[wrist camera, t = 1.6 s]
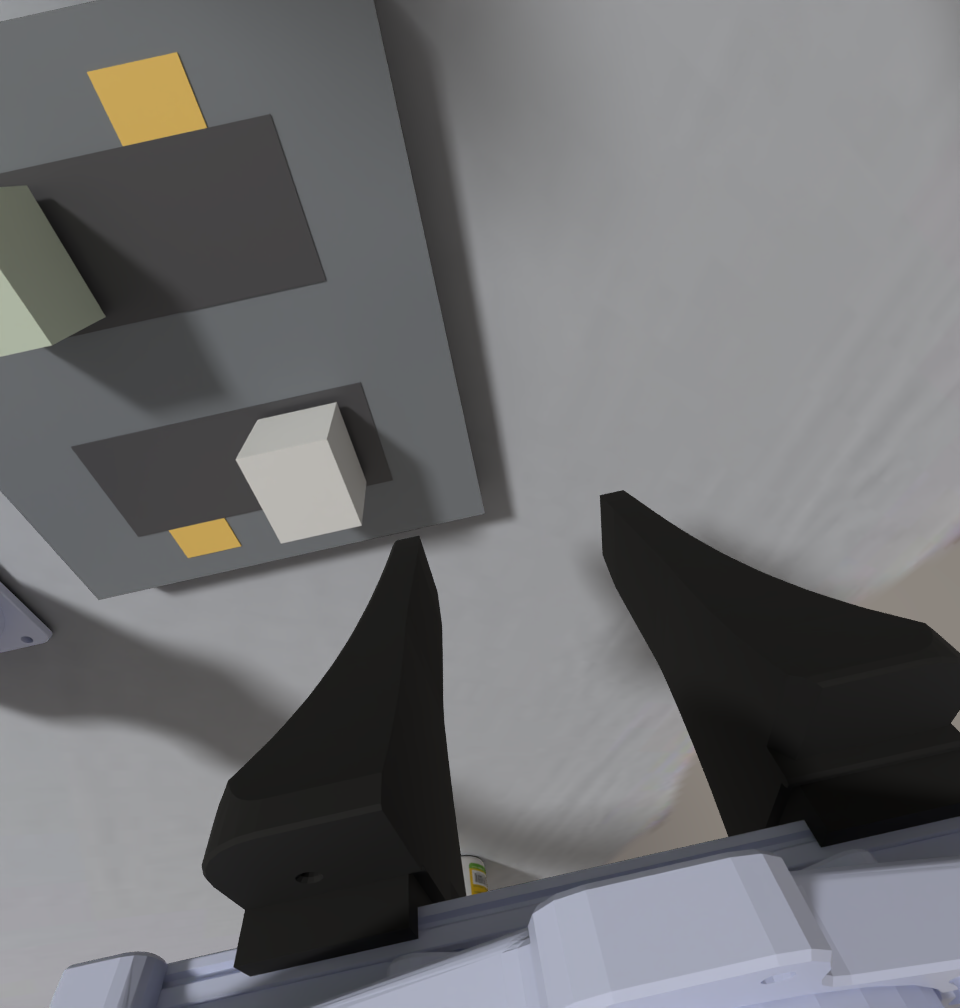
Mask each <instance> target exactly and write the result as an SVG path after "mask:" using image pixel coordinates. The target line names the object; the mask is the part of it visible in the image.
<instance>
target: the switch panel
mask: <svg viewBox="0 0 960 1008" xmlns="http://www.w3.org/2000/svg"><path fill="white" fill-rule="evenodd" d="M24 185H27V186H28V188H29V190H30V191H31V193H32V195H33V196H34V198H35V200H36V201H37V203H38V205H39V206H40V208H41V210H42V211H43V213H44V215H45V216H46V218H47V220H48V221H49V223H50V225H51V226H52V228H53V230H54V231H55V233H56V235H57V236H58V238H59V240H60V241H61V243H62V245H63V246H64V248H65V250H66V251H67V253H68V255H69V256H70V258H71V260H72V261H73V263H74V265H75V266H76V268H77V270H78V271H79V273H80V275H81V276H82V278H83V280H84V281H85V283H86V285H87V286H88V288H89V290H90V291H91V293H92V295H93V296H94V298H95V300H96V301H97V303H98V305H99V306H100V308H101V310H102V311H103V313H104V315H105V316H106V317H105V318H103V319H101V320H99V321H97V322H95V323H93V324H91V325H90V326H88V327H86V328H84V329H82V330H80V331H78V332H76V333H74V334H73V335H71V336H69V337H67V338H65V339H63V340H61V341H59V342H58V343H56V344H54V345H51V346H47V347H42V348H38V349H33V350H29V351H24V352H20V353H15V354H11V355H6V356H2V357H0V491H1V492H2V493H3V494H4V495H5V496H6V497H7V499H8V500H9V501H10V502H11V503H12V504H13V505H14V506H15V507H16V509H17V510H18V511H19V512H20V513H21V514H22V515H23V516H24V517H25V519H26V520H27V521H28V522H29V523H30V524H31V525H32V526H33V527H34V529H35V530H36V531H37V532H38V533H39V534H40V535H41V536H42V537H43V539H44V540H45V541H46V542H47V543H48V544H49V545H50V546H51V547H52V549H53V550H54V551H55V552H56V553H57V554H58V555H59V556H60V557H61V559H62V560H63V561H64V562H65V563H66V564H67V565H68V566H69V567H70V569H71V570H72V571H73V572H74V573H75V574H76V575H77V576H78V577H79V579H80V580H81V581H82V582H83V583H84V584H85V585H86V586H87V587H88V589H89V590H90V591H91V592H92V593H93V594H94V595H95V596H96V597H97V599H98V600H101V599H105V598H110V597H114V596H119V595H123V594H128V593H132V592H137V591H141V590H145V589H150V588H154V587H159V586H163V585H168V584H172V583H177V582H181V581H186V580H190V579H195V578H199V577H204V576H208V575H213V574H217V573H222V572H226V571H231V570H235V569H239V568H244V567H248V566H253V565H257V564H262V563H266V562H271V561H275V560H280V559H284V558H289V557H293V556H298V555H302V554H307V553H311V552H316V551H320V550H325V549H329V548H333V547H338V546H342V545H347V544H351V543H356V542H360V541H365V540H369V539H374V538H378V537H383V536H387V535H392V534H396V533H401V532H405V531H410V530H414V529H419V528H423V527H428V526H432V525H436V524H441V523H445V522H450V521H454V520H459V519H463V518H468V517H472V516H477V515H481V514H485V512H484V507H483V502H482V498H481V493H480V489H479V484H478V479H477V475H476V470H475V466H474V461H473V456H472V452H471V447H470V442H469V438H468V433H467V429H466V424H465V419H464V415H463V410H462V406H461V401H460V396H459V392H458V387H457V382H456V378H455V373H454V369H453V364H452V359H451V355H450V350H449V346H448V341H447V336H446V332H445V327H444V322H443V318H442V313H441V309H440V304H439V299H438V295H437V290H436V286H435V281H434V276H433V272H432V267H431V262H430V258H429V253H428V249H427V244H426V239H425V235H424V230H423V226H422V221H421V216H420V212H419V207H418V202H417V198H416V193H415V189H414V184H413V179H412V175H411V170H410V166H409V161H408V156H407V152H406V147H405V142H404V138H403V133H402V129H401V124H400V119H399V115H398V110H397V106H396V101H395V96H394V92H393V87H392V82H391V78H390V73H389V69H388V64H387V59H386V55H385V50H384V46H383V41H382V36H381V32H380V27H379V22H378V18H377V13H376V9H375V4H374V0H97V1H93V2H88V3H83V4H79V5H74V6H70V7H65V8H61V9H56V10H52V11H47V12H42V13H38V14H33V15H29V16H24V17H20V18H15V19H10V20H6V21H1V22H0V187H10V186H24ZM335 402H337V404H338V407H339V410H340V413H341V415H342V418H343V421H344V423H345V426H346V429H347V431H348V434H349V437H350V439H351V442H352V445H353V447H354V450H355V453H356V455H357V458H358V461H359V463H360V466H361V469H362V471H363V474H364V477H365V479H366V491H365V500H364V510H363V519H362V526H358V527H353V528H349V529H344V530H340V531H335V532H331V533H326V534H322V535H318V536H313V537H309V538H304V539H300V540H295V541H291V542H286V543H282V544H281V543H280V541H279V539H278V537H277V535H276V533H275V532H274V530H273V528H272V526H271V524H270V522H269V520H268V519H267V517H266V515H265V513H264V511H263V509H262V508H261V506H260V504H259V502H258V500H257V498H256V496H255V495H254V493H253V491H252V489H251V487H250V485H249V483H248V482H247V480H246V478H245V476H244V474H243V472H242V471H241V469H240V467H239V465H238V463H237V461H236V458H237V456H238V454H239V452H240V450H241V449H242V447H243V445H244V443H245V441H246V440H247V438H248V436H249V434H250V432H251V431H252V429H253V427H254V425H255V423H256V422H257V420H259V419H263V418H268V417H272V416H277V415H281V414H286V413H290V412H295V411H299V410H304V409H308V408H313V407H317V406H322V405H326V404H331V403H335Z"/></svg>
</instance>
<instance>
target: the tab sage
mask: <svg viewBox="0 0 960 1008" xmlns="http://www.w3.org/2000/svg"><path fill="white" fill-rule="evenodd" d="M105 317H106V316H105V315H104V313H103V311H102V310H101V308H100V306H99V305H98V303H97V301H96V300H95V298H94V296H93V295H92V293H91V291H90V290H89V288H88V286H87V285H86V283H85V281H84V280H83V278H82V276H81V275H80V273H79V271H78V270H77V268H76V266H75V265H74V263H73V261H72V260H71V258H70V256H69V255H68V253H67V251H66V250H65V248H64V246H63V245H62V243H61V241H60V240H59V238H58V236H57V235H56V233H55V231H54V230H53V228H52V226H51V225H50V223H49V221H48V220H47V218H46V216H45V215H44V213H43V211H42V210H41V208H40V206H39V205H38V203H37V201H36V200H35V198H34V196H33V195H32V193H31V191H30V190H29V188H28V186H27V185H24V186H10V187H0V357H2V356H6V355H11V354H15V353H20V352H24V351H29V350H33V349H38V348H42V347H47V346H51V345H54V344H56V343H58V342H59V341H61V340H63V339H65V338H67V337H69V336H71V335H73V334H74V333H76V332H78V331H80V330H82V329H84V328H86V327H88V326H90V325H91V324H93V323H95V322H97V321H99V320H101V319H103V318H105Z"/></svg>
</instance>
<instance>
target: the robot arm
mask: <svg viewBox="0 0 960 1008" xmlns="http://www.w3.org/2000/svg"><path fill="white" fill-rule="evenodd" d="M600 507H601V528H602V550H603V557H604V559H605V562H606V564H607V567H608V570H609V572H610V575H611V577H612V579H613V582H614V584H615V587H616V589H617V591H618V592H619V594H620V596H621V598H622V600H623V601H624V603H625V605H626V607H627V609H628V610H629V612H630V614H631V616H632V618H633V619H634V621H635V623H636V625H637V626H638V628H639V630H640V632H641V634H642V635H643V637H644V639H645V641H646V642H647V644H648V646H649V648H650V650H651V651H652V653H653V655H654V657H655V659H656V661H657V662H658V664H659V666H660V668H661V670H662V672H663V675H664V677H665V679H666V681H667V684H668V686H669V688H670V691H671V693H672V695H673V698H674V700H675V702H676V704H677V707H678V709H679V711H680V714H681V716H682V719H683V721H684V724H685V726H686V728H687V731H688V733H689V736H690V738H691V740H692V743H693V745H694V748H695V750H696V753H697V755H698V758H699V760H700V763H701V766H702V768H703V771H704V773H705V776H706V778H707V781H708V783H709V786H710V788H711V791H712V794H713V796H714V799H715V802H716V804H717V807H718V810H719V813H720V815H721V818H722V820H723V823H724V826H725V829H726V831H727V834H728V837H726V838H722V839H718V840H713V841H708V842H704V843H699V844H695V845H691V846H686V847H682V848H677V849H673V850H669V851H665V852H660V853H655V854H651V855H647V856H642V857H638V858H634V859H629V860H624V861H620V862H616V863H611V864H607V865H602V866H598V867H593V868H589V869H584V870H580V871H576V872H571V873H567V874H562V875H558V876H553V877H549V878H545V879H540V880H536V881H531V882H527V883H523V884H518V885H514V886H509V887H505V888H500V889H496V890H492V891H487V892H483V893H478V894H474V895H469V896H467V895H466V888H465V881H464V874H463V867H462V860H461V853H460V847H459V839H458V831H457V824H456V816H455V809H454V801H453V793H452V785H451V777H450V769H449V760H448V752H447V743H446V734H445V725H444V709H443V649H442V622H441V614H440V607H439V600H438V592H437V589H436V586H435V583H434V580H433V577H432V573H431V570H430V567H429V564H428V561H427V558H426V555H425V552H424V549H423V546H422V543H421V540H420V536H416V537H412V538H407V539H403V540H398V541H396V542H395V543H394V545H393V547H392V550H391V553H390V555H389V558H388V561H387V563H386V566H385V568H384V570H383V573H382V575H381V578H380V580H379V582H378V584H377V586H376V589H375V591H374V593H373V595H372V597H371V599H370V601H369V603H368V605H367V607H366V609H365V611H364V613H363V615H362V617H361V618H360V620H359V622H358V624H357V626H356V628H355V630H354V631H353V633H352V635H351V636H350V638H349V640H348V641H347V643H346V645H345V646H344V648H343V649H342V651H341V652H340V654H339V656H338V657H337V659H336V660H335V662H334V663H333V665H332V666H331V667H330V669H329V670H328V671H327V673H326V674H325V676H324V677H323V678H322V680H321V681H320V682H319V684H318V685H317V686H316V688H315V689H314V690H313V692H312V693H311V694H310V695H309V697H308V698H307V699H306V700H305V702H304V703H303V704H302V705H301V706H300V707H299V709H298V710H297V711H296V712H295V713H294V714H293V716H292V717H291V718H290V719H289V720H288V721H287V722H286V724H285V725H284V726H283V727H282V728H281V729H280V730H279V731H278V732H277V733H276V734H275V735H274V737H273V738H272V739H271V740H270V741H269V742H268V743H267V744H266V745H265V746H264V747H263V748H262V749H261V750H260V751H259V752H258V753H257V754H256V755H254V756H253V757H252V758H251V759H250V760H249V761H248V762H247V763H246V764H245V765H244V766H243V767H242V768H241V769H240V770H239V771H238V772H237V773H236V774H235V775H234V776H233V777H232V778H231V779H229V780H228V783H227V785H226V788H225V791H224V794H223V796H222V799H221V801H220V804H219V807H218V810H217V813H216V816H215V820H214V823H213V827H212V830H211V834H210V838H209V841H208V845H207V848H206V852H205V855H204V859H203V863H202V870H203V875H204V876H205V878H206V879H207V880H208V881H209V882H210V883H211V885H212V886H213V887H214V888H216V889H217V890H219V891H220V892H221V893H223V894H224V895H225V896H227V897H228V898H229V899H231V900H232V901H234V902H235V903H236V904H238V905H239V906H240V907H242V908H243V909H245V913H244V918H243V923H242V928H241V932H240V937H239V942H238V947H237V948H235V949H230V950H226V951H222V952H217V953H213V954H208V955H204V956H199V957H195V958H191V959H186V960H182V961H177V962H173V963H169V964H167V963H166V962H165V960H163V959H162V958H161V957H159V956H157V955H155V954H152V953H149V952H129V953H123V954H118V955H114V956H109V957H105V958H101V959H96V960H92V961H87V962H83V963H78V964H74V965H71V966H69V967H68V968H67V969H65V970H64V972H63V974H62V976H61V979H60V981H59V984H58V986H57V988H56V991H55V993H54V996H53V998H52V1000H51V1003H50V1005H49V1008H960V732H959V731H958V730H957V729H956V728H955V727H954V726H953V725H952V724H951V722H952V720H953V719H954V718H955V716H956V715H957V713H958V712H959V710H960V653H959V652H958V651H957V650H956V649H955V648H954V647H952V646H951V645H950V644H949V643H948V642H947V641H946V640H944V639H943V638H942V637H941V636H940V635H939V634H938V633H936V632H935V631H934V630H933V629H932V628H930V627H929V626H928V625H927V624H925V623H922V622H918V621H914V620H910V619H906V618H902V617H898V616H894V615H890V614H886V613H882V612H878V611H874V610H870V609H866V608H863V607H859V606H856V605H853V604H849V603H846V602H843V601H840V600H836V599H833V598H830V597H827V596H824V595H821V594H818V593H815V592H812V591H809V590H806V589H803V588H801V587H798V586H796V585H793V584H790V583H788V582H785V581H783V580H780V579H777V578H775V577H772V576H770V575H768V574H765V573H763V572H761V571H758V570H756V569H754V568H752V567H750V566H748V565H745V564H743V563H741V562H739V561H737V560H735V559H733V558H731V557H729V556H727V555H725V554H723V553H721V552H719V551H717V550H715V549H714V548H712V547H710V546H708V545H706V544H705V543H703V542H701V541H699V540H698V539H696V538H694V537H693V536H691V535H689V534H688V533H686V532H684V531H683V530H681V529H680V528H678V527H677V526H675V525H673V524H672V523H670V522H669V521H667V520H666V519H664V518H663V517H661V516H660V515H658V514H657V513H655V512H654V511H653V510H651V509H650V508H648V507H647V506H645V505H644V504H642V503H641V502H640V501H638V500H637V499H635V498H634V497H632V496H631V495H630V494H628V493H627V492H625V491H624V490H622V491H617V492H613V493H609V494H604V495H600ZM51 636H52V632H51V630H50V629H49V628H48V627H47V626H46V625H45V624H44V623H43V622H41V621H40V620H39V619H38V618H37V617H36V616H35V615H34V614H33V613H32V612H31V611H30V610H29V609H28V608H27V607H26V606H25V605H24V604H23V603H22V602H21V601H20V600H19V599H18V598H17V597H16V596H15V595H14V594H13V593H11V592H10V591H9V590H8V589H7V588H6V587H5V586H4V585H3V584H2V583H1V582H0V653H2V652H7V651H11V650H16V649H20V648H24V647H29V646H33V645H38V644H42V643H46V642H47V641H48V640H49V639H50V637H51Z"/></svg>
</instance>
